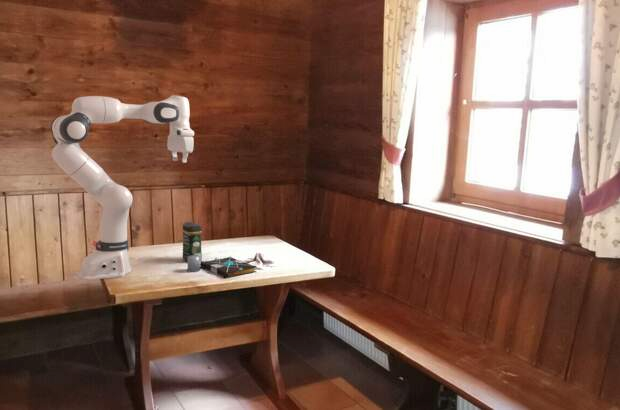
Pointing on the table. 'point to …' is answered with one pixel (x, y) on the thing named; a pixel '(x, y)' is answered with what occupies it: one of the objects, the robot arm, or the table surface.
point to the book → (228, 267)
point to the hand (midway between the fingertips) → (179, 161)
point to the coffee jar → (191, 240)
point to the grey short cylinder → (193, 263)
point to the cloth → (260, 261)
